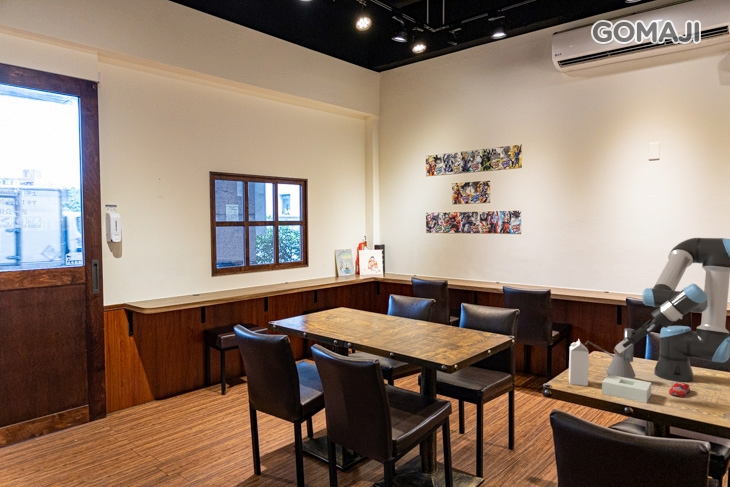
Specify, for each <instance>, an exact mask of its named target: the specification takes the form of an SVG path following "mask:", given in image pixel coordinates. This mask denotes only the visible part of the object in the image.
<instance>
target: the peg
mask: <svg viewBox="0 0 730 487" xmlns="http://www.w3.org/2000/svg"><path fill="white" fill-rule="evenodd" d="M634 332H635V329H633V328H629V327H628V328H624V329H623V340H624V341H625V340H626V339H627V337H628V338H630V337H631V336H633V335H634ZM634 345H635V344H632V345H631V346H630V347H628V348H627V349H625V350H624V351H623V360H624V361H627V362H630V363H632V362H634V350H635V348H634Z"/></svg>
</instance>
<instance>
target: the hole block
mask: <svg viewBox="0 0 730 487" xmlns="http://www.w3.org/2000/svg"><path fill="white" fill-rule="evenodd" d="M601 394H602V395H606V396H612V397H615V398H620V399H626V400H630V401H634V402H638V403H639V402H640V403H644V404H647V403H648V401H649V399H650V397H651V395H652V382H650V381H645V380H644V381H643V380H639V379H635V378H634V379H630V378H624V377H619V376H614V375H608V374H607V376H606V377H605V378H604V379H603V380H602V381H601Z"/></svg>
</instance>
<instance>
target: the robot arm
mask: <svg viewBox="0 0 730 487" xmlns="http://www.w3.org/2000/svg"><path fill="white" fill-rule="evenodd" d="M666 262H667V263H666V264H665V266H664V268H663V270H662V272H661V273H660V274H659V277H658V278H657V281H656V282H655V284H654V286H653V287H649V288H647V287H646V288H645V289H643V292H642V303H643V304H644V306H649V307H653V308H656V309H655V310H653V311H652V312H651V313H650V314H651V316H652V318H653V319H649V320H647V321H646V322H645V323H643V324H642V326H640V327H639V328H638V329H636V330H634V335H633V336H631V337H630V338H628V337H627V339H626V340H625V341H624V339H623V340H622V341H620V342H619V343H618V344H616V345H615V347H614V350H617V351H618V352H619V353H621V352H622V351H624V350H625V349H627V348H628V347H630V346H631V345H632V344H634V345H635V344H636V343H638V342H639V341H640V340H642V339H643V338H645V337H646V336H648V335H650V334H651V333H652V332H654V331H656V330H657V329H658V328H659V327H658V326H659V325H660V326H662V327H661V329H660V333H659V356H658V360H657V362H656V364H655V366H654V372H653V373H654V375H656V376H657V377H659V378H662V379H665V380H669V381H674V382H675V381H676V382H683V383H684V382H692V381H693V380H694V372H693V369H692V366H691V362H690V358H694V359H699V360H703V361H709V362H713V363H714V362H715V363H721V364H723V363H726V362H727V361H728V360H729V359H730V331H729V330H728V329H726V321H727V312H728V311H727V310H728V309H727V308H728V302H729V301H728V300H729V299H728V298H729V288H730V287H729V286H730V238H724V237H714V238H713V237H693V238H687V239H685V240H683V241H681V242H680V243H678V244H677V245H675V246H674V247H673V248H672V249H671V250H670V252H669V253H668V260H667V261H666ZM692 264H702V265H701V268H702V269H704V271H705V279H704V290H703V289H702V288H701V287H700V286H698V285H697V284H696V283H691V284H689V285H688V286H685V287H684V288H683V289H681V291H680V290H677V291H676V289H677V287H678V285H679V283H680V282H681V279H682V278H683V276H684V274H685V272H686V269H688V267H690V266H692ZM690 312H692V313H697V314H698V313H701V322H700V325H698V326H697V327H696V331H695V330H692V328H691V327H690V326H685V325H684V326H683V325H672V324H674V322H677V321H678V320H683V316H685V315H686V314H689V313H690Z"/></svg>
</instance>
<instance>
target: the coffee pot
mask: <svg viewBox="0 0 730 487" xmlns="http://www.w3.org/2000/svg"><path fill="white" fill-rule="evenodd" d="M588 344H590V345H591V346H593V347H594V348H596V349H598V350H600V351H601V352H603V353H605V354H608V355H609V356H610V357H612V358H613V359H612V360H611V362H610V364H609V366H608V367H607V369H606V374H607V376H608V375H614V376H619V377H624V378H630V379H635V378H636V373H635V371H634V368H633V366H632V362H627V361H624V360H623V351H622V352H621V353H619V352H618V351H617V350H616V349H613V352H614V354H612V353H610V352H609V351H606V350H605V349H604V348H602V347H600V346H599V345H597V344H595V343H593V342H591V341H590V340H586V342H585V343H584V345H588Z"/></svg>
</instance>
